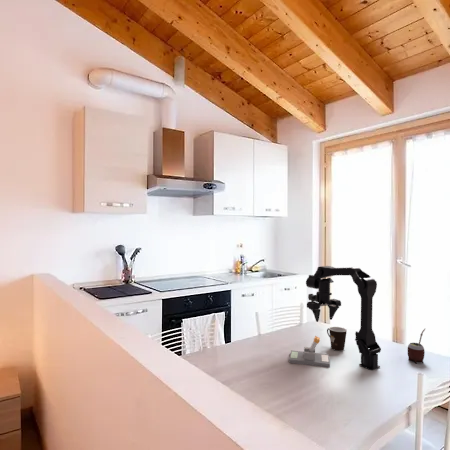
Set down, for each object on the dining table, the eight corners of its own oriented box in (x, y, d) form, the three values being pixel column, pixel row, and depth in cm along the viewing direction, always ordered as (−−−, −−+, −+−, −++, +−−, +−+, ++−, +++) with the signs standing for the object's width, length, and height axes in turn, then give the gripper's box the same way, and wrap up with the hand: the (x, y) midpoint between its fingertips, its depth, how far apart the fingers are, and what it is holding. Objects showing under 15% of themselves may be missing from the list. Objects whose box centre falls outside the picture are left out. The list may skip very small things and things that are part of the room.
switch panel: (328, 357, 169) (329, 348, 169) (329, 367, 157) (329, 357, 157) (291, 353, 174) (291, 344, 174) (289, 362, 162) (289, 353, 162)
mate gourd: (407, 362, 164) (407, 330, 164) (407, 356, 171) (407, 326, 171) (425, 365, 161) (426, 333, 160) (425, 359, 168) (425, 328, 167)
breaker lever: (310, 355, 167) (319, 338, 166) (310, 358, 164) (319, 340, 163) (306, 352, 168) (315, 335, 166) (306, 355, 164) (315, 338, 163)
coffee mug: (348, 351, 177) (349, 332, 176) (331, 351, 177) (331, 331, 177) (341, 343, 188) (341, 325, 188) (325, 343, 188) (325, 325, 188)
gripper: (326, 286, 193) (326, 315, 193) (299, 289, 184) (299, 319, 184) (342, 290, 183) (341, 319, 183) (314, 293, 174) (314, 324, 174)
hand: (324, 320), depth 181 cm, fingers open, 9 cm apart
